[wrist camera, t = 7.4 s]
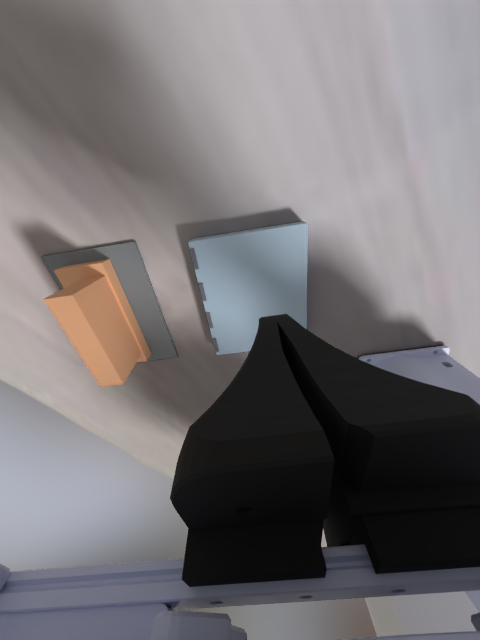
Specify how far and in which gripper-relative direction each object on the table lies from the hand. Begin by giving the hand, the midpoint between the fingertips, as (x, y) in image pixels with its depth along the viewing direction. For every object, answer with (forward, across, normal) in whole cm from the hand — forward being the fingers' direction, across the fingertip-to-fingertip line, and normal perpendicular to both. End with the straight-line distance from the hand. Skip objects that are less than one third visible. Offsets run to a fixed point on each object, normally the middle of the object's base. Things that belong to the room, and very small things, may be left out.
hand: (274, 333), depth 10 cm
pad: (+10, +14, +2) cm, 17 cm away
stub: (+10, +14, +2) cm, 17 cm away
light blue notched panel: (+10, 0, +2) cm, 10 cm away
